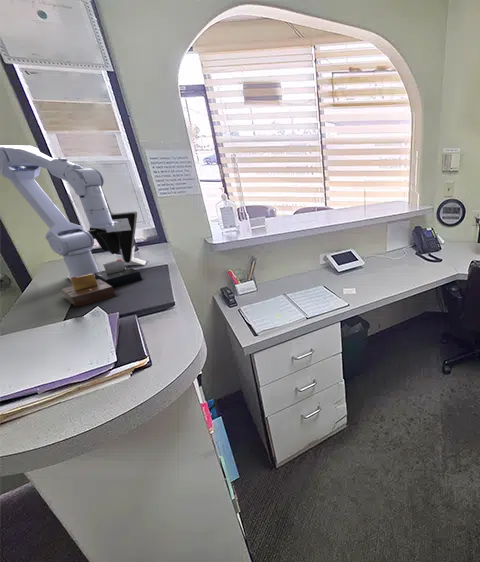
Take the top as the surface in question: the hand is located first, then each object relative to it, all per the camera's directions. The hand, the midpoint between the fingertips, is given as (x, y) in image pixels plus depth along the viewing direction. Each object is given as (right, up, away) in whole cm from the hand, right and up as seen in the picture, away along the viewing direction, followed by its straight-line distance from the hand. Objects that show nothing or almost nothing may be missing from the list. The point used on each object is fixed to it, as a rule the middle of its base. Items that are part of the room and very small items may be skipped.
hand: (111, 251), depth 101 cm
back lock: (0, -7, +1) cm, 7 cm away
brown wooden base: (+2, -14, -10) cm, 18 cm away
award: (-9, -4, +18) cm, 20 cm away
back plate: (+1, -10, +2) cm, 10 cm away
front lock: (+2, -11, -11) cm, 16 cm away
